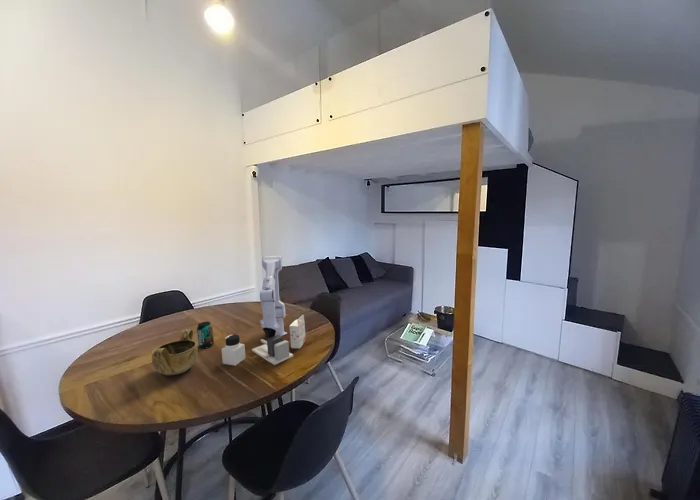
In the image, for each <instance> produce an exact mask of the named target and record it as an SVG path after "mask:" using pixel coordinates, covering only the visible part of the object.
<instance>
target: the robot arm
mask: <svg viewBox="0 0 700 500" xmlns="http://www.w3.org/2000/svg"><path fill="white" fill-rule="evenodd" d="M282 258H283V257H282V256H281V255H280V254H279V255H270V256H269V255H267V256H265V255H264V256H262V258H261V265H262V266H261V267H262V268H263V270H264V271H265V277H264V278H263V281H262V288H261V290H260V292H259V301H260V306H261V308H262V309H261V310H262V319H260V320H259V322H260V323H259V324H260V326H261V328H262V331H263V332H264V335H265V336H266V340H267V339H268V338H270V337H273V336H276V335H280V336H282V337H284V336H285V335H287V334H288V332H286V331H285V328H284V327H285V326H284V318H285V317H286V306H285V303H284V302H283V301H281V300H280V287H279V273H280V271H282V269H283V261H282Z"/></svg>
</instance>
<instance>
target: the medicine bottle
mask: <svg viewBox="0 0 700 500" xmlns="http://www.w3.org/2000/svg"><path fill="white" fill-rule="evenodd" d="M224 341H225V346H224V347H222V348H221V359H222V361H221V362H222V364H223V365H229V366H235V367H236V366H237V365H238V364H240V363H241V362H242V361H244V360H245V359H246V358H247V357H246V349H245V348H246V347H245V344H244V343H241V340H240V335H239V334H234V333H233V334H229V335H227V336H225V339H224Z"/></svg>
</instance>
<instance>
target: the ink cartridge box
mask: <svg viewBox="0 0 700 500" xmlns="http://www.w3.org/2000/svg"><path fill="white" fill-rule="evenodd" d="M305 325H306V324H305V315H304V314H302V315H301V316H300V317H299V318H298V319H294V321H293V322H292V323H291V324H290V325H289V338H290V348H291V349H301V348H302V347H303V345H304V344H305V343H306V340H307V339H306V338H307V337H306V326H305Z"/></svg>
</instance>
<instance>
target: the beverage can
mask: <svg viewBox="0 0 700 500" xmlns="http://www.w3.org/2000/svg"><path fill="white" fill-rule="evenodd" d="M196 327H197V328H196V335H197V343H198V347H199V348H200V349H207V348H206V347H209V348H211V347H212V346H213V345H214V343H215V339H214V331H213V325H212V323H211V322H210V321H203V322H202V321H201V322H199V323H198V324H197V326H196ZM210 346H211V347H210Z"/></svg>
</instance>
